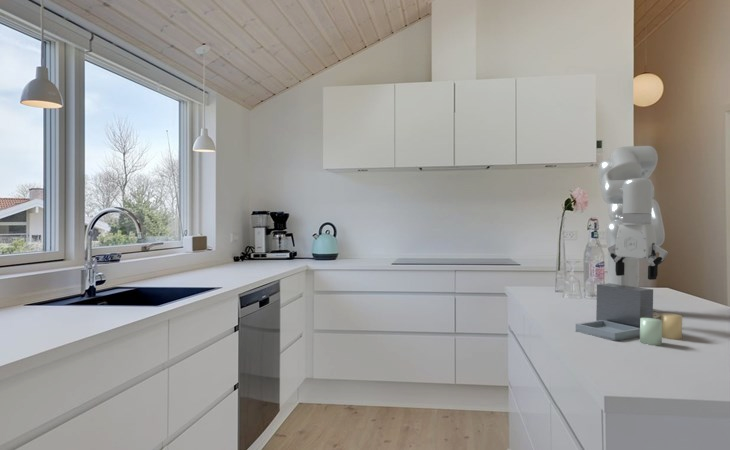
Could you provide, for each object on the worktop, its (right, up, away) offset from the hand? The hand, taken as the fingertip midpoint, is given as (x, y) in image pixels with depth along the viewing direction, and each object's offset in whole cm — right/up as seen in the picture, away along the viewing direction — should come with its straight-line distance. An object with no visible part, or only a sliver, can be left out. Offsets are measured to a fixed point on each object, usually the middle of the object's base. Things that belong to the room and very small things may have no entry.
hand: (635, 277), depth 137 cm
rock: (+6, -15, +2) cm, 16 cm away
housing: (-6, -14, -4) cm, 16 cm away
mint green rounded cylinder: (-8, -15, -20) cm, 26 cm away
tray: (-14, -14, -10) cm, 22 cm away
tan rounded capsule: (+2, -15, -14) cm, 20 cm away
